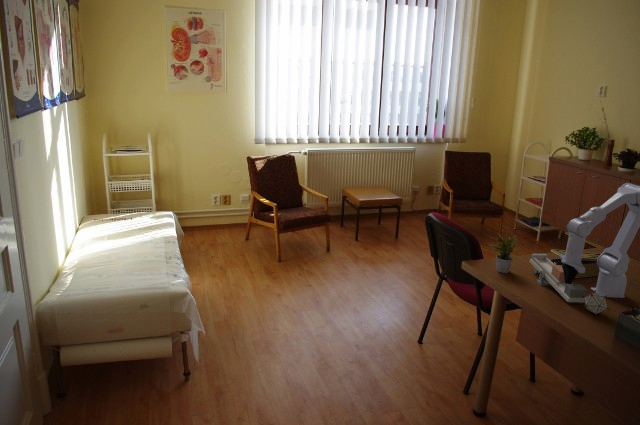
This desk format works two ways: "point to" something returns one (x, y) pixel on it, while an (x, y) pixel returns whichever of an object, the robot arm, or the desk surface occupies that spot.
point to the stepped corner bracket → (546, 283)
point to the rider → (558, 273)
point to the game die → (595, 302)
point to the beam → (565, 290)
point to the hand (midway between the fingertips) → (568, 283)
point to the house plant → (504, 254)
